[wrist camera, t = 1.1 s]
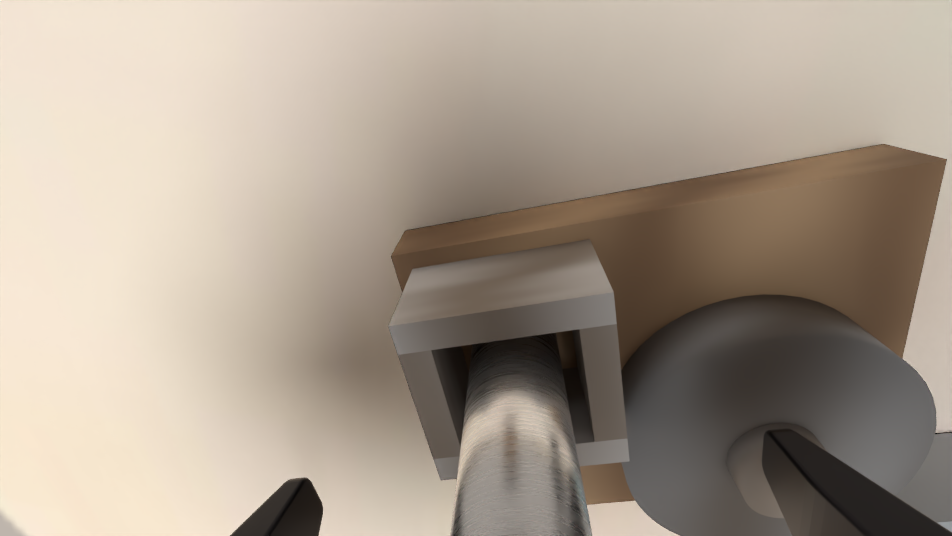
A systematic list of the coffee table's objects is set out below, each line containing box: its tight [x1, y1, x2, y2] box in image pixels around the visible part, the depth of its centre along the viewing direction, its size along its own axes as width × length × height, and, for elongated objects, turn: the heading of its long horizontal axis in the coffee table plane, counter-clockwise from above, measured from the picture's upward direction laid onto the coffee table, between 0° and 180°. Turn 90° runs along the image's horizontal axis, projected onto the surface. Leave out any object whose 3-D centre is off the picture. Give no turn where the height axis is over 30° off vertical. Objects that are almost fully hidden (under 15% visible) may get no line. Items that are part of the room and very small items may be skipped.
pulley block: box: [388, 144, 947, 536], centre depth 14 cm, size 14×11×5 cm
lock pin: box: [451, 333, 592, 536], centre depth 10 cm, size 3×3×9 cm
